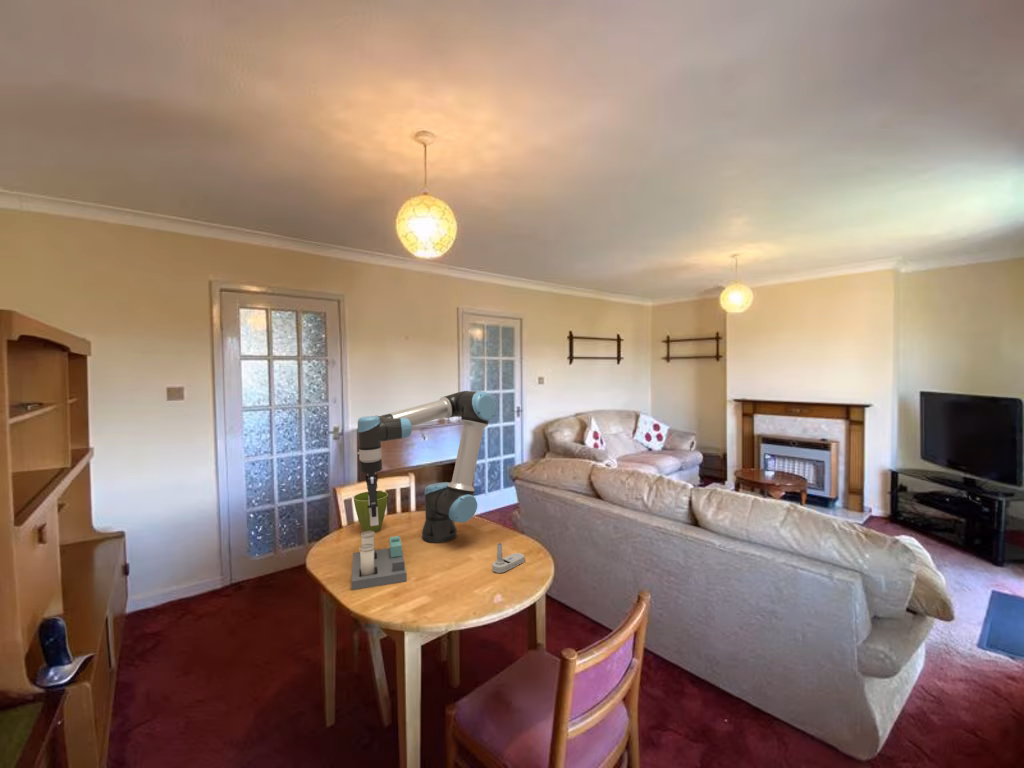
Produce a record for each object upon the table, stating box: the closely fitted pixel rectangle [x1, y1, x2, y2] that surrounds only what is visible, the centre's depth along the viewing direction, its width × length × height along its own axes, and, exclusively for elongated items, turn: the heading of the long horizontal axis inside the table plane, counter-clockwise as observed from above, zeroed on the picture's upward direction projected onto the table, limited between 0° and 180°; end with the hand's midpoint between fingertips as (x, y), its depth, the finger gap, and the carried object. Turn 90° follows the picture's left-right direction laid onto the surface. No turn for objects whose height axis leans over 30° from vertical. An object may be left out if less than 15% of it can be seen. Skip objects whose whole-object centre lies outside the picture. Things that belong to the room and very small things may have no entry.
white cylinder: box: [360, 531, 376, 559], centre depth 168 cm, size 5×5×12 cm
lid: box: [389, 535, 403, 557], centre depth 172 cm, size 4×10×5 cm, turn 18°
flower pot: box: [353, 490, 389, 533], centre depth 203 cm, size 15×15×16 cm
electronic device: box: [491, 542, 526, 574], centre depth 165 cm, size 5×10×15 cm
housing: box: [350, 547, 408, 591], centre depth 163 cm, size 18×24×6 cm
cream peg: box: [359, 544, 375, 577], centre depth 156 cm, size 5×5×12 cm
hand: (373, 518), depth 160 cm, fingers open, 13 cm apart
